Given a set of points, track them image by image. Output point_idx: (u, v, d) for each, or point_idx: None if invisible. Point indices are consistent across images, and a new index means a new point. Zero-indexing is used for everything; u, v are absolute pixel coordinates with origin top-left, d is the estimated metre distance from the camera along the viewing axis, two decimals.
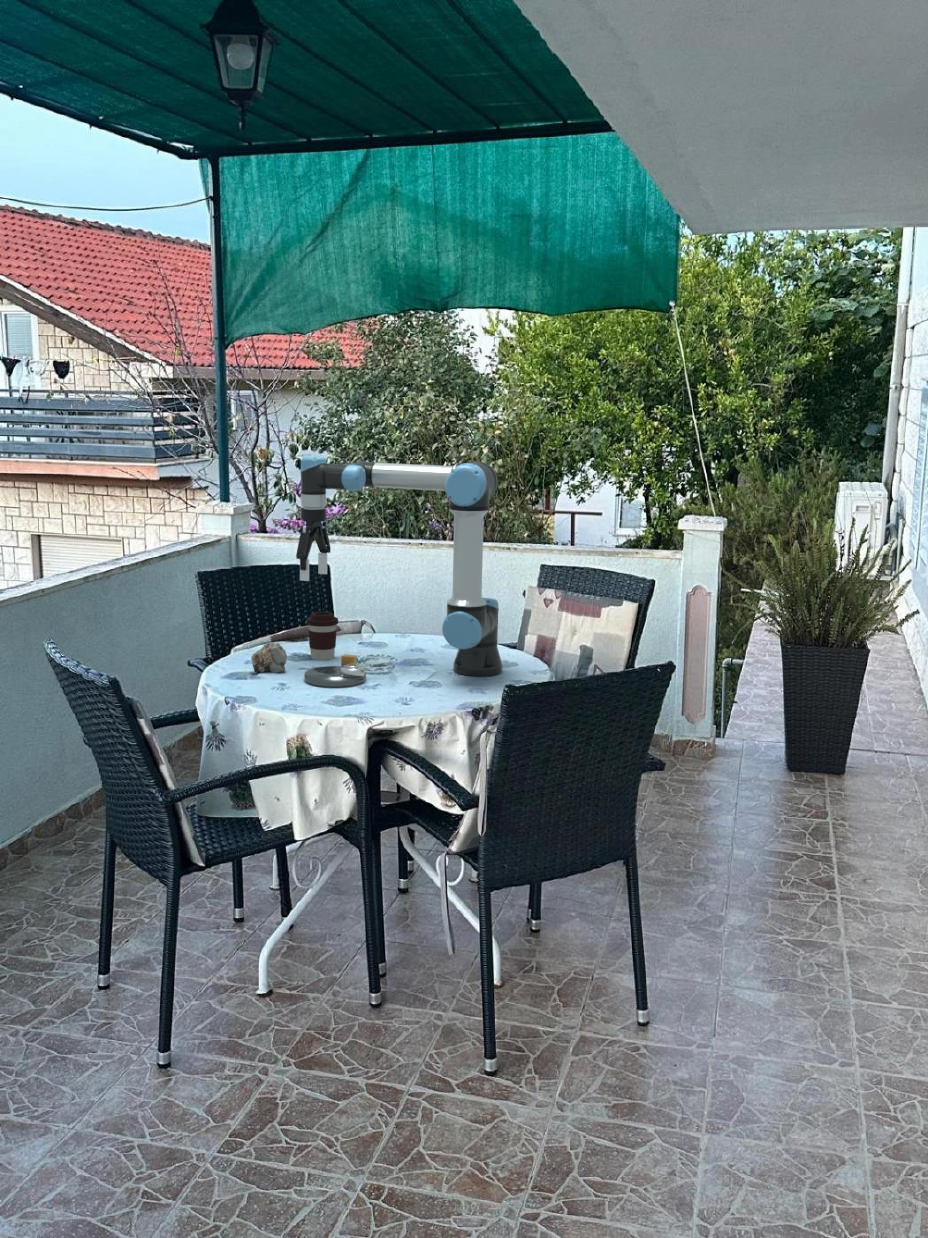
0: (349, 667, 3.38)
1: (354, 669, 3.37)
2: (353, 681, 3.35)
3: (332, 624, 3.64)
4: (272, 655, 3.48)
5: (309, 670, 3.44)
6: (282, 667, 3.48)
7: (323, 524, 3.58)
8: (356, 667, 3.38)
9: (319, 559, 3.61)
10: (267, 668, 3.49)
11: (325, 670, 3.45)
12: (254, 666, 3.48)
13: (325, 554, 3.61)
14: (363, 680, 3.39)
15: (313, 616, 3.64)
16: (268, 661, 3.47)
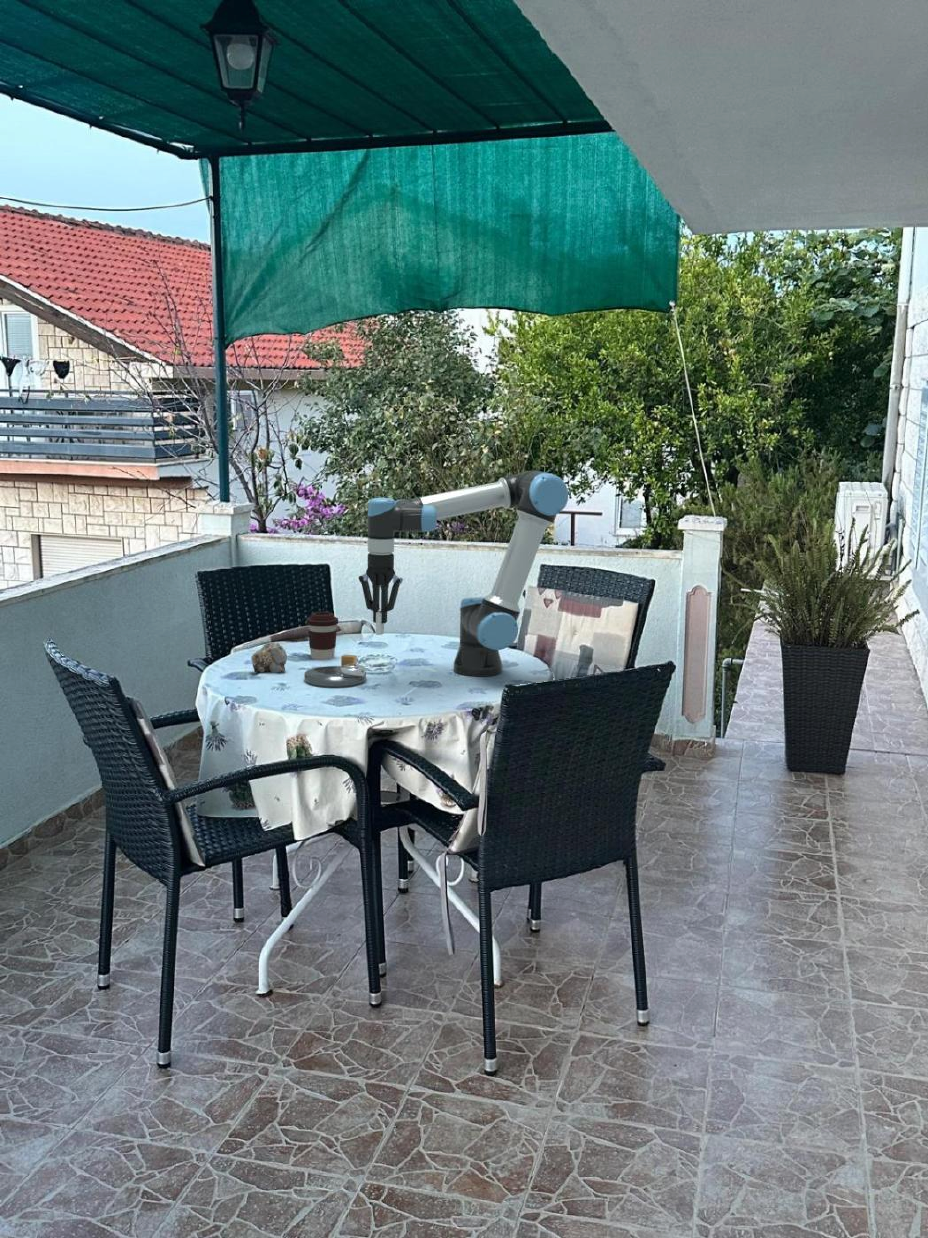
0: (349, 667, 3.38)
1: (354, 669, 3.37)
2: (353, 681, 3.35)
3: (332, 624, 3.64)
4: (272, 655, 3.48)
5: (309, 670, 3.44)
6: (282, 667, 3.48)
7: (396, 580, 3.30)
8: (356, 667, 3.38)
9: None
10: (267, 668, 3.49)
11: (325, 670, 3.45)
12: (254, 666, 3.48)
13: None
14: (363, 680, 3.39)
15: (313, 616, 3.64)
16: (268, 661, 3.47)
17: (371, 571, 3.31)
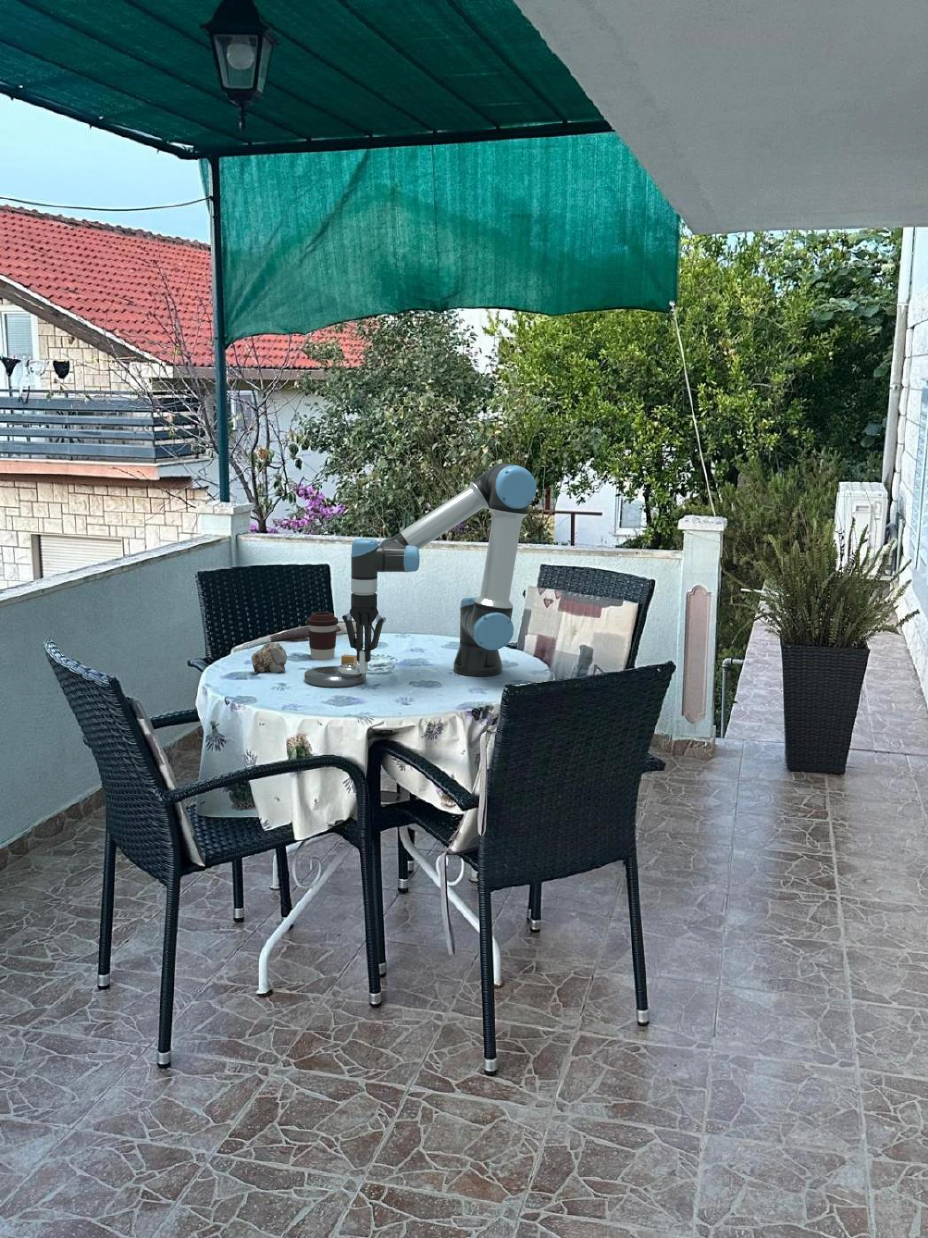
0: (347, 667, 3.38)
1: (352, 669, 3.37)
2: (353, 681, 3.35)
3: (332, 624, 3.64)
4: (272, 655, 3.48)
5: (309, 670, 3.44)
6: (282, 667, 3.48)
7: None
8: (354, 667, 3.38)
9: None
10: (267, 668, 3.49)
11: (325, 670, 3.45)
12: (254, 666, 3.48)
13: None
14: (363, 680, 3.39)
15: (313, 616, 3.64)
16: (268, 661, 3.47)
17: (354, 611, 3.35)
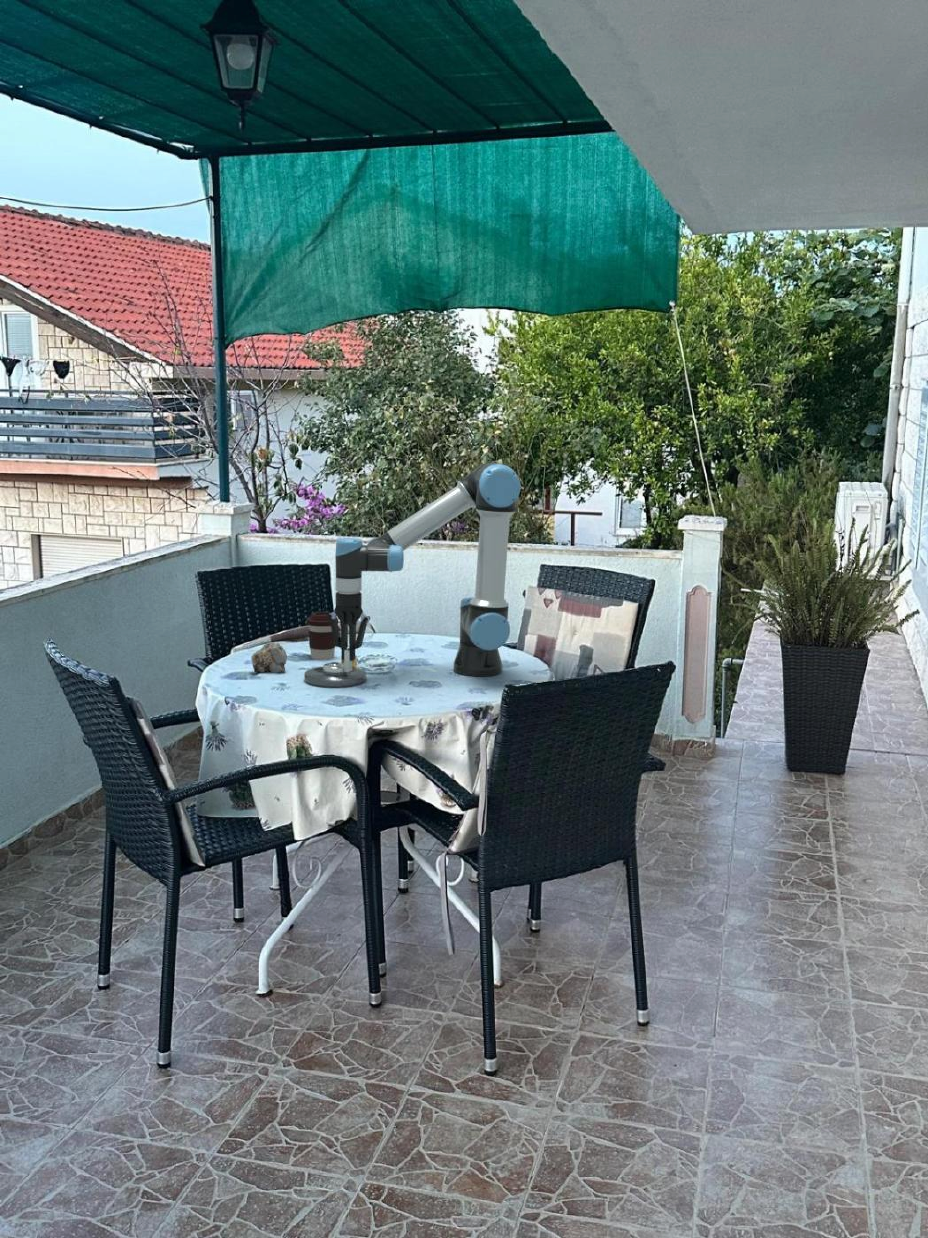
0: (331, 665, 3.39)
1: (336, 667, 3.39)
2: (353, 681, 3.35)
3: None
4: (272, 655, 3.48)
5: (309, 670, 3.44)
6: (282, 667, 3.48)
7: (364, 618, 3.35)
8: (338, 665, 3.40)
9: None
10: (267, 668, 3.49)
11: None
12: (254, 666, 3.48)
13: None
14: (363, 680, 3.39)
15: (313, 616, 3.64)
16: (268, 661, 3.47)
17: (339, 610, 3.36)
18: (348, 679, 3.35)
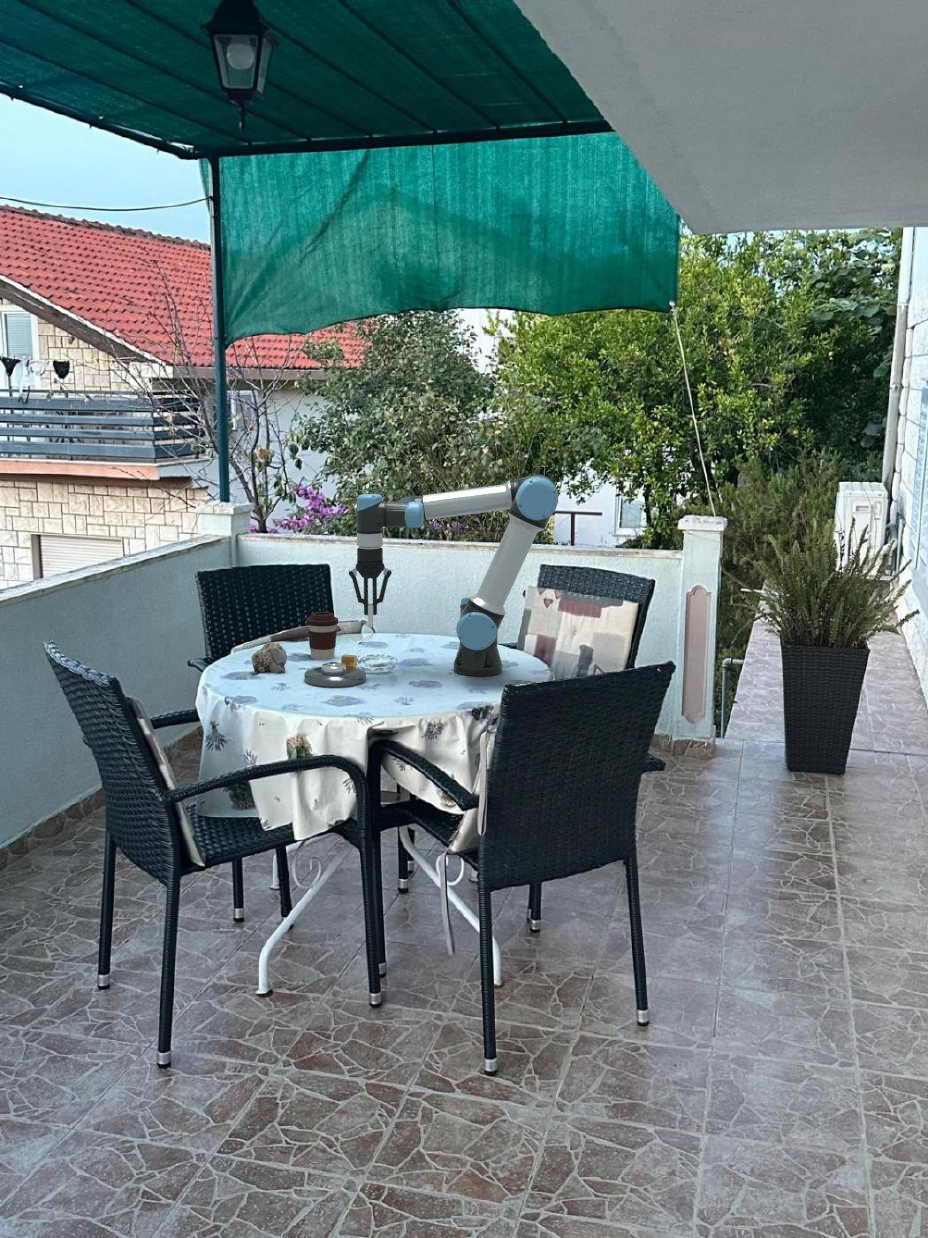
0: (330, 665, 3.40)
1: (335, 667, 3.39)
2: (353, 681, 3.35)
3: (332, 624, 3.64)
4: (272, 655, 3.48)
5: (309, 670, 3.44)
6: (282, 667, 3.48)
7: (387, 572, 3.42)
8: (337, 665, 3.40)
9: None
10: (267, 668, 3.49)
11: None
12: (254, 666, 3.48)
13: (370, 606, 3.44)
14: (363, 680, 3.39)
15: (313, 616, 3.64)
16: (268, 661, 3.47)
17: (362, 565, 3.41)
18: (348, 679, 3.35)
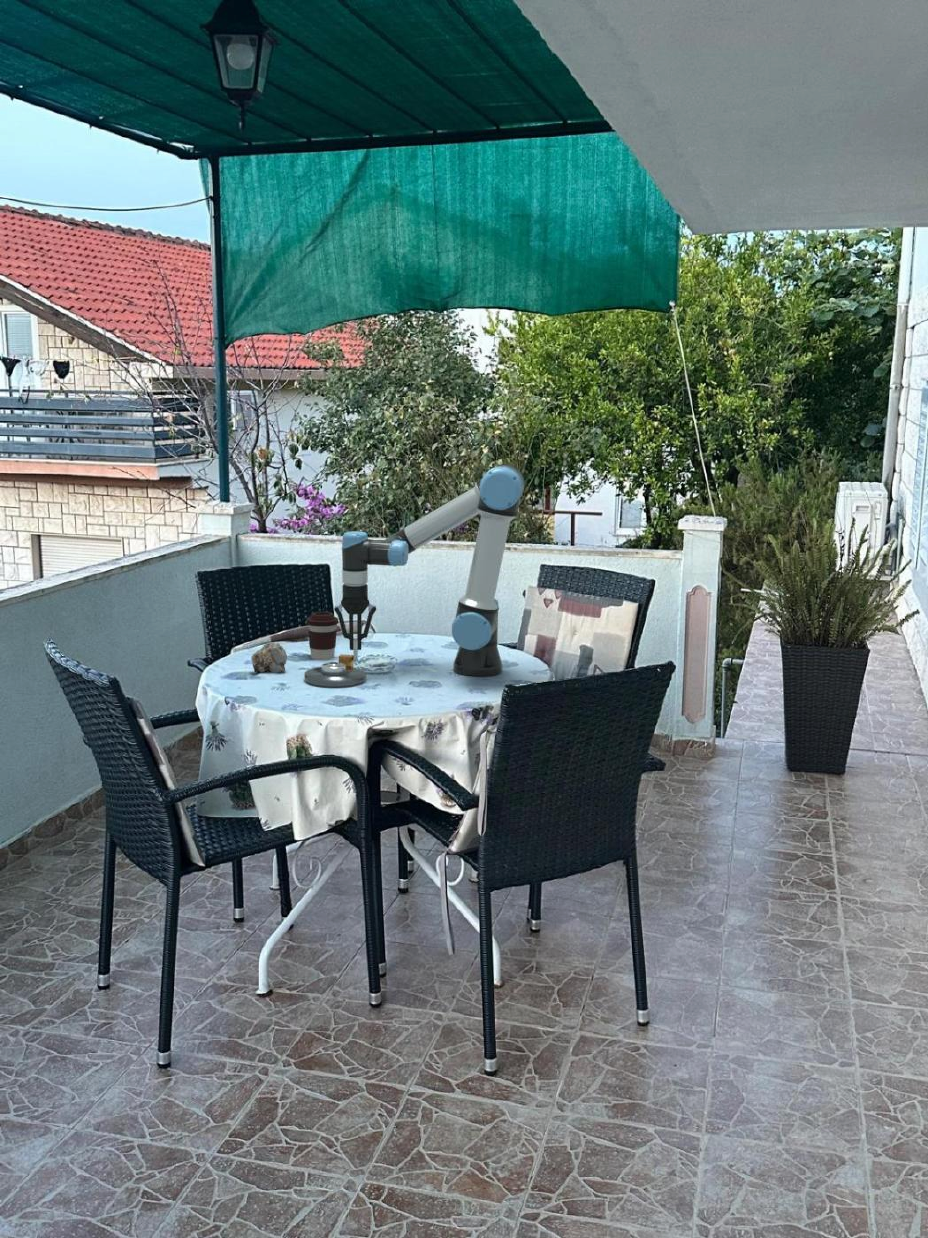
0: (330, 665, 3.39)
1: (336, 667, 3.39)
2: (355, 681, 3.36)
3: (332, 624, 3.64)
4: (272, 655, 3.48)
5: (308, 671, 3.44)
6: (282, 667, 3.48)
7: (372, 608, 3.48)
8: (337, 665, 3.40)
9: None
10: (267, 668, 3.49)
11: None
12: (254, 666, 3.48)
13: (355, 641, 3.49)
14: (364, 679, 3.40)
15: (313, 616, 3.64)
16: (268, 661, 3.47)
17: (347, 602, 3.47)
18: (350, 679, 3.35)
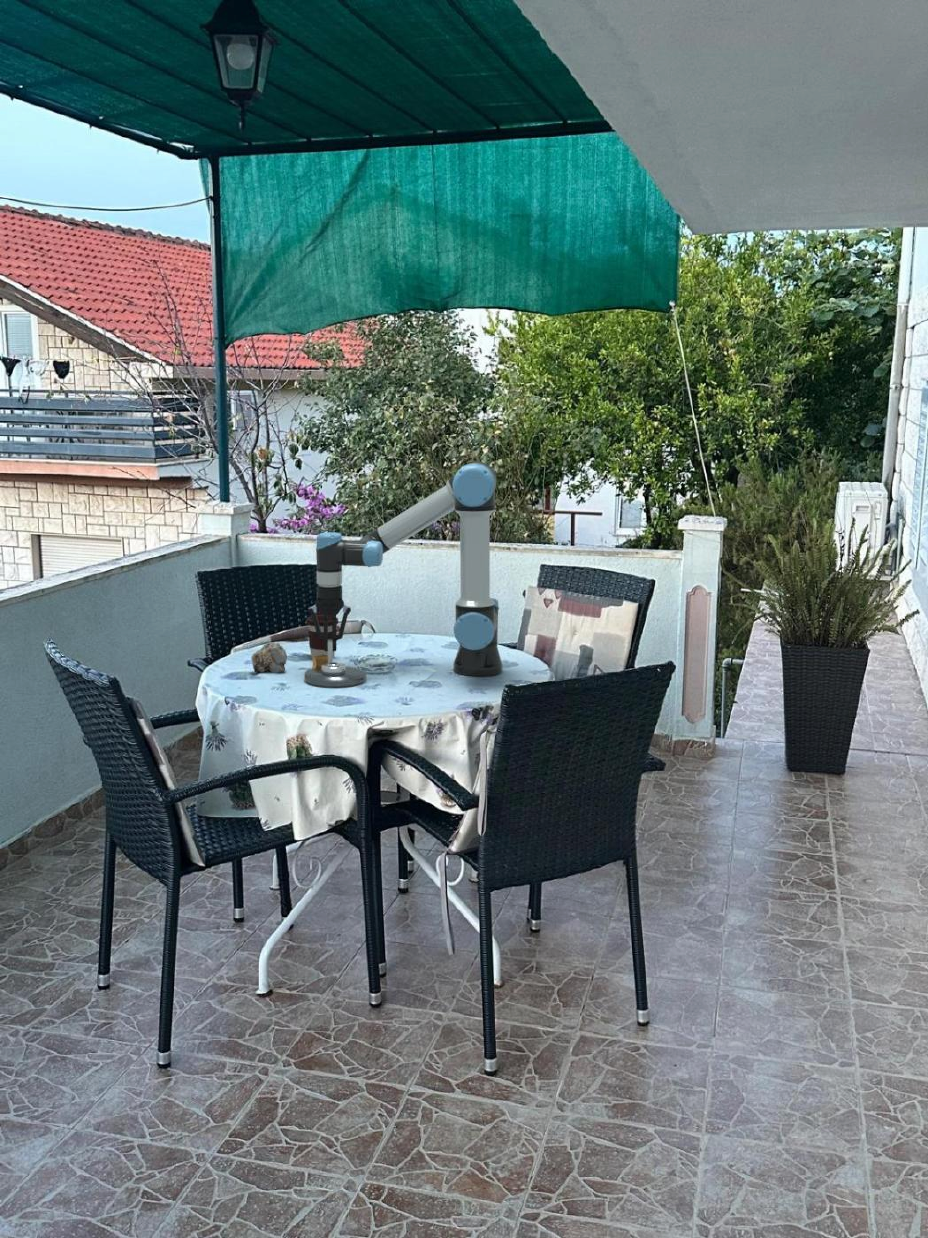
0: (335, 666, 3.39)
1: (341, 666, 3.40)
2: (365, 675, 3.42)
3: None
4: (272, 655, 3.48)
5: (308, 676, 3.38)
6: (282, 667, 3.48)
7: (347, 609, 3.47)
8: (339, 664, 3.41)
9: None
10: (267, 668, 3.49)
11: (319, 673, 3.41)
12: (254, 666, 3.48)
13: (330, 642, 3.49)
14: None
15: None
16: (268, 661, 3.48)
17: (321, 603, 3.46)
18: (362, 674, 3.40)
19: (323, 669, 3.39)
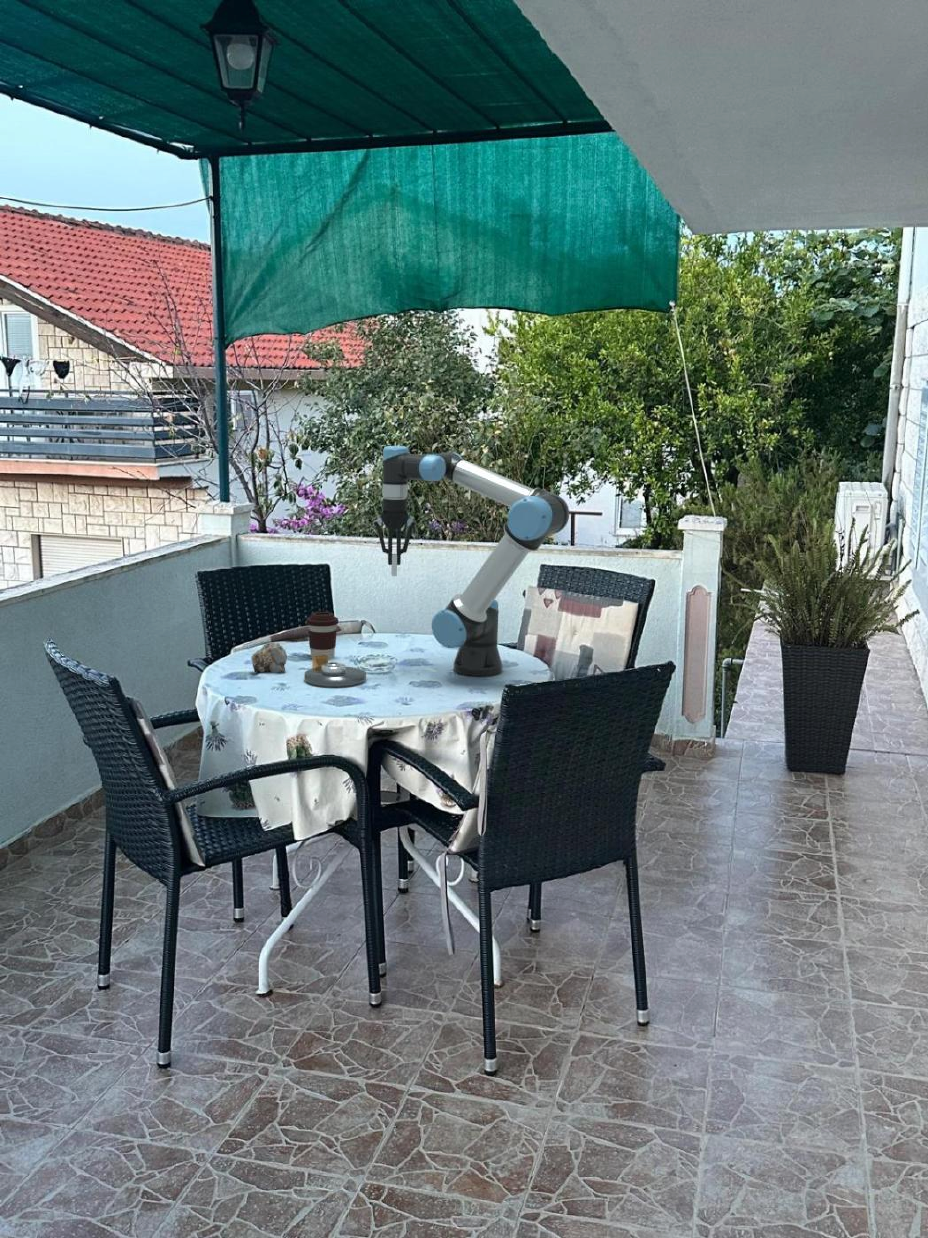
0: (335, 666, 3.39)
1: (341, 666, 3.40)
2: (365, 675, 3.42)
3: (332, 624, 3.64)
4: (272, 655, 3.48)
5: (308, 676, 3.37)
6: (282, 667, 3.48)
7: (411, 522, 3.51)
8: (339, 664, 3.41)
9: None
10: (267, 668, 3.49)
11: (319, 673, 3.41)
12: (254, 666, 3.48)
13: (394, 555, 3.52)
14: None
15: (313, 616, 3.64)
16: (268, 661, 3.47)
17: (387, 516, 3.49)
18: (362, 674, 3.41)
19: (323, 669, 3.39)
